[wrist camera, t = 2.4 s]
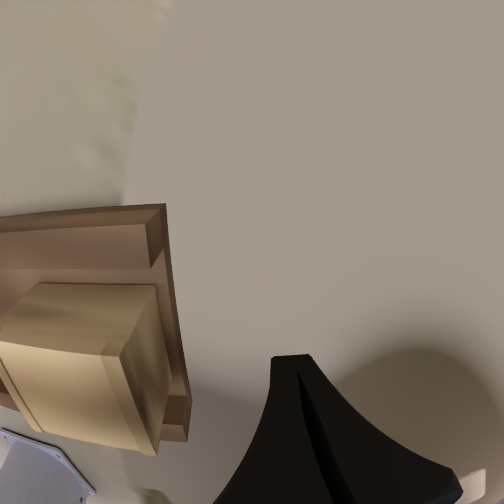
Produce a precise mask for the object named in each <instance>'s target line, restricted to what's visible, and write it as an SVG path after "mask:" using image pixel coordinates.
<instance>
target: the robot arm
mask: <svg viewBox="0 0 504 504" xmlns="http://www.w3.org/2000/svg"><path fill="white" fill-rule="evenodd" d="M0 434H1V435H2V436H3V438H4V439H5V440H6V441H7V443H8V444H9V445H10V446H11V449H10V451H9V453H8V455H7V457H6V459H5V462H4V464H3V466H2V468H1V470H0V504H86V500H87V497H88V494H89V495H93V496H96V492H95V491H94V490H93V489H92V487H91V486H90V485H89V484H88V483H87V482H86V481H85V480H84V478H83V477H82V476H81V475H80V474H79V473H78V471H77V470H76V469H75V468H74V467H73V465H72V464H71V463H70V462H69V460H68V459H67V458H66V457H65V455H64V454H63V453H62V451H61V450H59V449H58V448H56V447H52V446H49V445H46V444H43V443H40V442H37V441H34V440H31V439H28V438H25V437H22V436H19V435H17V434H14V433H12V432H9V431H7V430H4V429H0ZM462 494H463V490H462V487H461V485H460V483H459V481H458V479H457V477H456V475H455V474H454V472H453V470H452V469H450V468H448V467H445V466H443V465H440V464H437V463H435V462H433V461H430V460H428V459H426V458H424V457H422V456H420V455H418V454H416V453H414V452H412V451H410V450H408V449H407V448H405V447H404V446H402V445H400V444H398V443H397V442H396V441H394V440H392V439H391V438H389V437H388V436H386V435H385V434H384V433H382V432H381V431H380V430H378V429H377V428H376V427H375V426H373V425H372V424H371V423H370V422H369V421H367V420H366V419H365V418H364V417H363V416H362V415H361V414H359V412H357V411H356V410H355V409H354V408H353V407H352V406H351V405H350V404H349V403H348V401H346V399H345V398H344V397H343V396H342V395H341V394H340V393H339V392H338V390H337V389H336V388H335V387H334V386H333V385H332V384H331V383H330V381H329V380H328V379H327V377H326V376H325V375H324V373H323V372H322V371H321V370H320V368H319V367H318V366H317V364H316V363H315V361H314V360H313V358H312V357H311V356H310V355H309V354H303V355H289V356H288V355H287V356H274V357H273V358H271V369H270V388H269V393H268V397H267V402H266V405H265V408H264V411H263V414H262V417H261V420H260V423H259V425H258V428H257V430H256V433H255V435H254V437H253V440H252V442H251V444H250V446H249V448H248V450H247V452H246V454H245V456H244V458H243V460H242V461H241V463H240V465H239V467H238V468H237V470H236V471H235V473H234V475H233V476H232V478H231V479H230V481H229V482H228V484H227V485H226V487H225V488H224V490H223V491H222V492H221V494H220V495H219V496H218V498H217V499H216V500H215V501H214V503H213V504H454V503H455V502H456V501H457V500H458V499H459V498H460V497H461V496H462ZM496 504H504V499H502V500H500V501H499V502H498V503H496Z"/></svg>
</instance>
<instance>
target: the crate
mask: <svg viewBox="0 0 504 504" xmlns="http://www.w3.org/2000/svg"><path fill="white" fill-rule="evenodd" d="M0 378H1V379H2V381H3V383H4V385H5V387H6V388H7V390H8V392H9V393H10V395H11V397H12V398H13V400H14V402H15V403H16V405H17V406H18V408H19V410H20V411H21V413H22V414H23V416H24V417H25V419H26V420H27V422H28V423H29V425H30V426H31V427H32V429H33V430H34V431H37V432H40V433H44V431H47V432H50V433H54V434H57V435H61V436H65V437H69V438H73V439H77V440H82V441H86V442H91V443H96V444H101V445H106V446H111V447H117V448H124V449H130V450H137V451H141V453H142V454H143V455H152V456H157V452H158V447H159V441H160V440H159V437H160V432H161V427H162V422H163V417H164V413H165V408H166V403H167V398H168V394H169V389H170V385H171V380H172V374H171V370H170V365H169V360H168V355H167V351H166V346H165V340H164V335H163V330H162V324H161V319H160V313H159V307H158V301H157V295H156V288H155V285H94V284H50V283H37V284H36V285H35V286H34V287H33V288H32V289H30V290H29V291H28V292H27V293H26V294H25V295H24V296H23V297H22V298H21V299H20V300H19V301H18V302H17V303H16V304H14V305H13V306H12V307H11V308H10V309H9V310H8V311H7V312H6V313H5V314H4V315H3V316H2V317H1V318H0Z"/></svg>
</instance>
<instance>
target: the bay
mask: <svg viewBox="0 0 504 504" xmlns="http://www.w3.org/2000/svg"><path fill="white" fill-rule="evenodd" d="M166 212H167V211H166V203H163V204H144V205H127V206H112V207H99V208H86V209H74V210H63V211H53V212H43V213H33V214H24V215H16V216H8V217H0V318H1V317H2V316H3V315H4V314H5V313H6V312H7V311H8V310H9V309H10V308H11V307H12V306H13V305H14V304H16V303H17V302H18V301H19V300H20V299H21V298H22V297H23V296H24V295H25V294H26V293H27V292H28V291H29V290H30V289H32V288H33V287H34V286H35V285H36V284H37V283H50V284H94V285H155V288H156V295H157V301H158V307H159V313H160V319H161V324H162V330H163V335H164V340H165V346H166V351H167V355H168V360H169V365H170V370H171V374H172V380H171V385H170V389H169V394H168V398H167V403H166V408H165V413H164V417H163V422H162V427H161V432H160V437H159V440H165V441H178V442H187V439H188V431H189V423H190V415H191V407H192V397H191V391H190V386H189V381H188V376H187V370H186V364H185V358H184V352H183V346H182V340H181V334H180V328H179V321H178V313H177V307H176V298H175V292H174V282H173V274H172V265H171V256H170V247H169V235H168V224H167V213H166ZM0 405H1V406H4V407H7V408H10V409H13V410H16V411H19V412H21V411H20V410H19V408H18V406H17V405H16V403H15V402H14V400H13V398H12V397H11V395H10V393H9V392H8V390H7V388H6V387H5V385H4V383H3V381H2V379H1V378H0Z"/></svg>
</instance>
